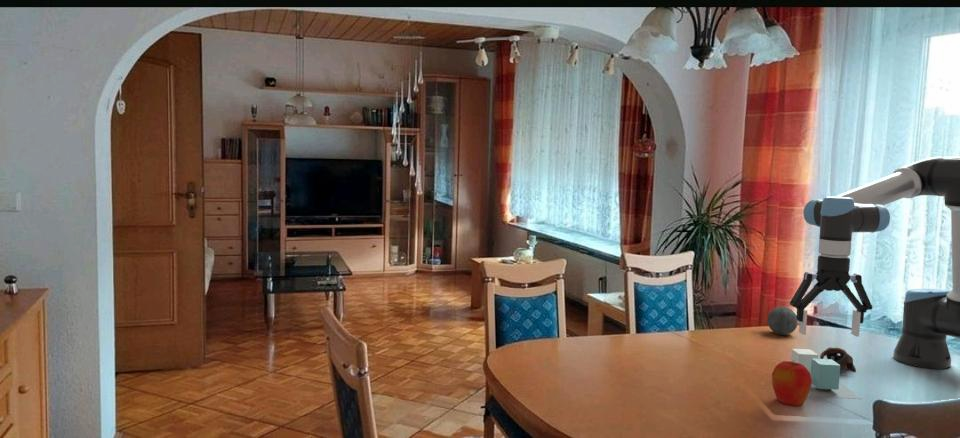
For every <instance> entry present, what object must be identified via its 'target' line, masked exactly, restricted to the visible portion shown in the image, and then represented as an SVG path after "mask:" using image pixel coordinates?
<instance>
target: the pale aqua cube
mask: <svg viewBox="0 0 960 438" xmlns="http://www.w3.org/2000/svg"><path fill="white" fill-rule="evenodd" d="M840 373H841V369H840V365H839V364H838V363H836V362H835V361H833V360H832V359H827V358H823V359H821V358H818V359H812V362H811V378H812V384H813V385H814V386H816V387H817V388H818V389H836V390H838V389H839V382H840V375H841V374H840Z"/></svg>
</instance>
